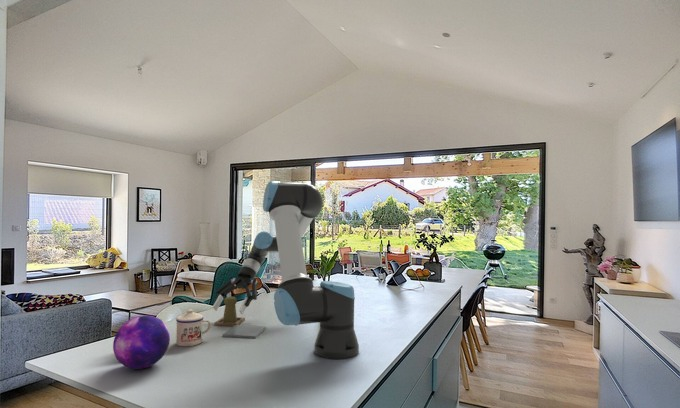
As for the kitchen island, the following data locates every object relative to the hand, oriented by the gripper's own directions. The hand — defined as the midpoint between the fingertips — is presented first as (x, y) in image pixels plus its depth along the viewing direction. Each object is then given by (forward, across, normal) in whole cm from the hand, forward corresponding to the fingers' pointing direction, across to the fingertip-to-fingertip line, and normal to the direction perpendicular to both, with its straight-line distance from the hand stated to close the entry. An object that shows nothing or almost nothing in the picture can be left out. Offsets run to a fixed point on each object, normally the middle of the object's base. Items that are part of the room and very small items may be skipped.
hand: (227, 310), depth 161 cm
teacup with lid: (+21, -4, +13) cm, 25 cm away
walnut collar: (+3, 0, -5) cm, 6 cm away
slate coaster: (+9, -14, +1) cm, 16 cm away
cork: (+3, 0, -5) cm, 6 cm away
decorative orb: (+38, -6, +30) cm, 49 cm away
